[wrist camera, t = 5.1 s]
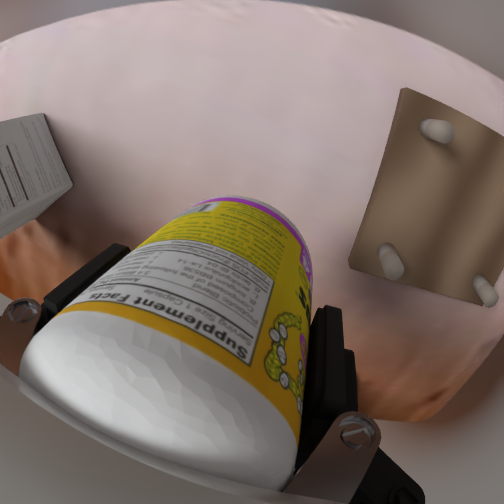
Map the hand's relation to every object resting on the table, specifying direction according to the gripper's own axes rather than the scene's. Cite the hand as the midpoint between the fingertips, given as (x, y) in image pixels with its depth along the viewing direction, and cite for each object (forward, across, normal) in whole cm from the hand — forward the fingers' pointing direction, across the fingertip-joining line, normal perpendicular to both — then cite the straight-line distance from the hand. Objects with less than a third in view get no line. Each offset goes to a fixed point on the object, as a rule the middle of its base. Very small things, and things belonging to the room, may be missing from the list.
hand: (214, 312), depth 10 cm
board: (+14, -14, -4) cm, 20 cm away
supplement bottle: (+4, 0, 0) cm, 4 cm away
